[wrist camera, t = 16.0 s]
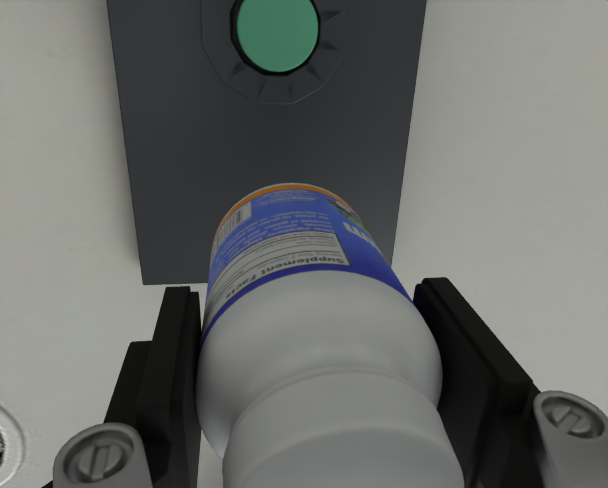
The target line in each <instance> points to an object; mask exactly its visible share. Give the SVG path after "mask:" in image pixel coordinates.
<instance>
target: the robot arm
mask: <svg viewBox="0 0 608 488" xmlns="http://www.w3.org/2000/svg"><path fill="white" fill-rule="evenodd" d="M413 303H414V305H415V307H416V308H417V310H418V311H419V313H420V314H421V316H422V317H423V319H424V321H425V323H426V324H427V326H428V328H429V329H430V331H431V333H432V335H433V337H434V339H435V341H436V344H437V347H438V349H439V353H440V357H441V363H442V372H443V380H442V390H441V395H440V399H439V403H438V406H437V409H436V410H437V411H438V413H439V415H440V418H441V420H442V422H443V426H444V429H445V431H446V434H447V436H448V439H449V441H450V443H451V446H452V448H453V451H454V453H455V455H456V457H457V460H458V462H459V464H460V467H461V470H462V473H463V480H464V488H608V418H607V416H606V415H605V414H604V413H603V412H602V411H601V410H600V409H599V408H598V407H596V406H595V405H594V404H592V403H590V402H589V401H587V400H585V399H583V398H581V397H579V396H576V395H574V394H571V393H567V392H563V391H551V390H550V391H545V392H540V391H539V390H538V388H537V387H536V386H535V385H534V384H533V380H532V379H531V378H530V377H529V375H528V374H527V373H526V372H525V371H524V369H523V368H522V367H521V366H520V365H519V363H518V362H517V361H516V360H515V359H514V357H513V356H512V355H511V354H510V353H509V351H508V350H507V349H506V348H505V347H504V345H503V344H502V343H501V342H500V341H499V339H498V338H497V337H496V336H495V335H494V333H493V332H492V331H491V330H490V329H489V327H488V326H487V325H486V324H485V323H484V321H483V320H482V319H481V318H480V317H479V315H478V314H477V313H476V312H475V311H474V309H473V308H472V307H471V306H470V305H469V303H468V302H467V301H466V300H465V299H464V297H463V296H462V295H461V294H460V293H459V291H458V290H457V289H456V288H455V287H454V285H453V284H452V283H451V282H450V281H449V279H447V278H445V277H441V278H424V279H423V281H422V283H421V284H417V285H416V287H415V292H414V298H413ZM201 333H202V331H201V317H200V303H199V293H198V292H191V291H190V287H189V286H181V287H166V289H165V293H164V297H163V301H162V304H161V308H160V312H159V316H158V320H157V323H156V327H155V331H154V335H153V339H152V341H137V342H131V343H130V345H129V347H128V350H127V353H126V356H125V359H124V362H123V365H122V368H121V371H120V374H119V377H118V380H117V383H116V386H115V389H114V392H113V395H112V398H111V401H110V404H109V407H108V410H107V413H106V417H105V420H104V423H103V424H98V425H94V426H92V427H89V428H87V429H85V430H82V431H81V432H79V433H78V434H76V435H75V436H73V437H72V438H71V439H70V440H69V441H68V442H67V443H66V444H65V445H64V446H63V447H62V448H61V449H60V451H59V453H58V454H57V456H56V458H55V461H54V466H53V480H52V481H51V482H49V483H48V484H46V485H45V486H43V487H42V488H197V476H198V464H199V452H200V441H201V429H202V428H201V425H200V423H199V420H198V415H197V411H196V404H195V382H196V374H197V364H198V355H199V348H200V341H201Z"/></svg>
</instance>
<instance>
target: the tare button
mask: <svg viewBox="0 0 608 488" xmlns="http://www.w3.org/2000/svg"><path fill="white" fill-rule="evenodd" d="M237 33H238V38H239V41H240V44H241V46H242V48H243V50H244V52H245V53H246V55H247V56H248V57H249V58H250V59H251V60H252V61H253V62H254V63H255V64H256V65H258V66H260V67H261V68H264V69H266V70H270V71H276V72H281V71H288V70H291V69H293V68H295V67H297V66H299V65H300V64H302V63H303V62H304V61H305V60H306V59H307V58H308V56H309V55H310V54H311V52H312V50H313V48H314V46H315V43H316V40H317V35H318V21H317V16H316V12H315V10H314V7H313V5H312V3H311V2H310V0H244V2H243V3H242V5H241V8H240V10H239V14H238V18H237Z"/></svg>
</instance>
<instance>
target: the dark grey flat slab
mask: <svg viewBox="0 0 608 488" xmlns="http://www.w3.org/2000/svg"><path fill="white" fill-rule="evenodd" d="M106 1H107V9H108V17H109V24H110V32H111V40H112V48H113V56H114V63H115V71H116V79H117V87H118V95H119V102H120V110H121V118H122V126H123V133H124V141H125V149H126V157H127V165H128V172H129V180H130V188H131V196H132V204H133V211H134V219H135V227H136V235H137V243H138V250H139V258H140V266H141V274H142V281H143V285H161V284H190V283H208V279H209V270H210V260H211V252H212V246H213V242H214V238H215V234H216V232H217V229H218V227H219V225H220V223H221V221H222V220H223V218H224V217H225V215H226V214H227V213H228V212H229V210H230V209H231V208H232V207H233V206H234V205H235V204H236V203H237V202H239V201H240V200H241V199H242V198H244V197H246V196H247V195H249V194H250V193H252V192H254V191H256V190H259V189H261V188H264V187H267V186H271V185H275V184H281V183H303V184H310V185H314V186H317V187H321V188H323V189H325V190H328V191H330V192H332V193H333V194H335V195H337V196H338V197H340V198H341V199H342V200H343V201H345V202H346V203H347V204H348V205H349V206H350V207H351V208H352V210H353V211H354V212H355V213H356V214H357V216H358V217H359V218H360V220H361V221H362V223H363V225H364V226H365V228H366V229H367V231H368V232H369V234H370V236H371V237H372V239H373V240H374V242H375V243H376V245H377V246H378V248H379V250H380V251H381V253H382V254H383V256H384V257H385V259H386V261H387V262H388V264H389V266H390V267H391V264H392V256H393V249H394V241H395V234H396V226H397V219H398V211H399V204H400V196H401V189H402V181H403V174H404V166H405V159H406V151H407V144H408V136H409V129H410V122H411V114H412V107H413V99H414V92H415V84H416V77H417V69H418V62H419V54H420V47H421V39H422V32H423V24H424V17H425V9H426V2H427V0H310V2H311V3H312V5H313V7H314V10H315V12H316V16H317V21H318V35H317V40H316V43H315V46H314V48H313V50H312V52H311V54H310V55H309V56H308V58H307V59H306V60H305V61H304V62H303V63H302V64H300V65H299V66H297V67H295V68H293V69H291V70H288V71H281V72H276V71H270V70H266V69H264V68H261V67H260V66H258V65H256V64H255V63H254V62H253V61H252V60H251V59H250V58H249V57H248V56H247V55H246V53H245V52H244V50H243V48H242V46H241V44H240V41H239V38H238V33H237V18H238V14H239V10H240V8H241V5H242V3H243V2H244V0H106Z"/></svg>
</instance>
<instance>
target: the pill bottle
mask: <svg viewBox="0 0 608 488" xmlns="http://www.w3.org/2000/svg"><path fill="white" fill-rule="evenodd" d="M442 380H443V372H442V363H441V357H440V353H439V349H438V347H437V344H436V341H435V339H434V337H433V335H432V333H431V331H430V329H429V328H428V326H427V324H426V323H425V321H424V319H423V317H422V316H421V314H420V313H419V311H418V310H417V308H416V307H415V305H414V303H413V302H412V300H411V299H410V297H409V296H408V294H407V292H406V291H405V289H404V288H403V286H402V284H401V283H400V281H399V280H398V278H397V277H396V275H395V273H394V272H393V270H392V269H391V267H390V266H389V264H388V262H387V261H386V259H385V257H384V256H383V254H382V253H381V251H380V250H379V248H378V246H377V245H376V243H375V242H374V240H373V239H372V237H371V236H370V234H369V232H368V231H367V229H366V228H365V226H364V225H363V223H362V221H361V220H360V218H359V217H358V216H357V214H356V213H355V212H354V211H353V210H352V208H351V207H350V206H349V205H348V204H347V203H346V202H345V201H343V200H342V199H341V198H340V197H338V196H337V195H335V194H333V193H332V192H330V191H328V190H325V189H323V188H321V187H317V186H314V185H310V184H303V183H281V184H275V185H271V186H267V187H264V188H261V189H259V190H256V191H254V192H252V193H250V194H249V195H247V196H246V197H244V198H242V199H241V200H240V201H239V202H237V203H236V204H235V205H234V206H233V207H232V208H231V209H230V210H229V212H228V213H227V214H226V215H225V217H224V218H223V220H222V221H221V223H220V225H219V227H218V229H217V232H216V234H215V238H214V242H213V246H212V252H211V260H210V270H209V279H208V287H207V295H206V303H205V310H204V318H203V326H202V333H201V341H200V348H199V355H198V364H197V374H196V382H195V404H196V411H197V415H198V420H199V423H200V425H201V428H202V431H203V433H204V435H205V437H206V439H207V440H208V442H209V443H210V445H211V446H212V448H213V449H214V450H215V452H216V453H217V454H218V455H219V456H220V457H221V458H222V459H223V468H222V473H223V488H464V480H463V473H462V470H461V467H460V464H459V462H458V460H457V457H456V455H455V453H454V451H453V448H452V446H451V443H450V441H449V439H448V436H447V434H446V431H445V429H444V426H443V422H442V420H441V418H440V415H439V413H438V411H437V410H436V409H437V406H438V403H439V399H440V395H441V390H442Z"/></svg>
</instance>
